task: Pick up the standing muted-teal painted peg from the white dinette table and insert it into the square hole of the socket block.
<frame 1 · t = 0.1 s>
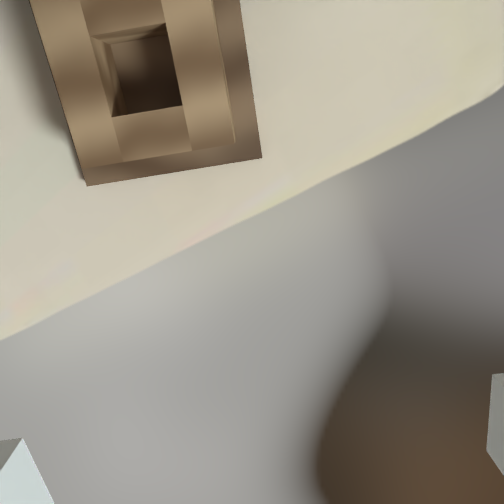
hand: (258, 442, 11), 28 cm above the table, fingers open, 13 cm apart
socket: (154, 76, 33), on the table
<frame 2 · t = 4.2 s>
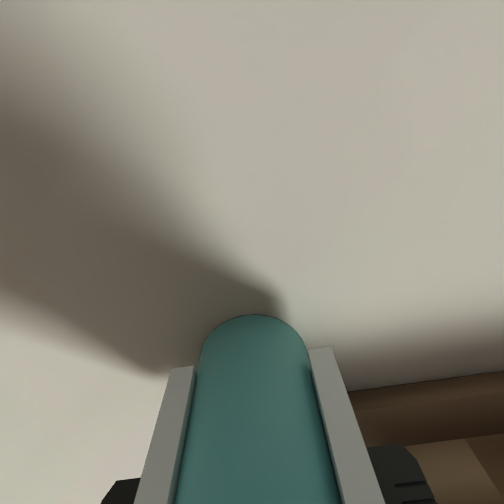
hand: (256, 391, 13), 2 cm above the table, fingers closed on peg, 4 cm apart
peg: (253, 361, 15), on the table, touching gripper
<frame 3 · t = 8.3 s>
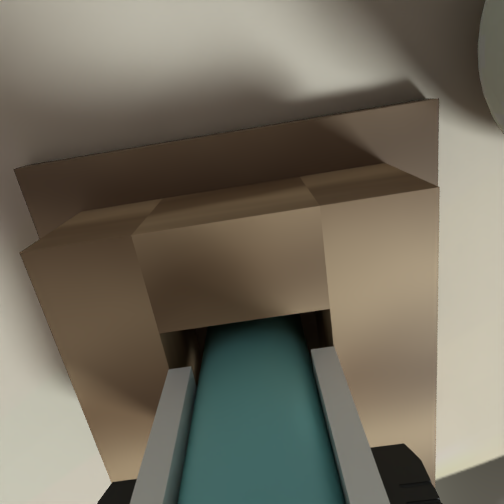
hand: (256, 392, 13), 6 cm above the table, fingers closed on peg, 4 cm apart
peg: (254, 325, 17), point 1 cm above the table, touching gripper
socket: (253, 309, 18), on the table
when the fingers open (6 cm above the table, at t = 9.6 s): peg stays where it is, resting on socket.
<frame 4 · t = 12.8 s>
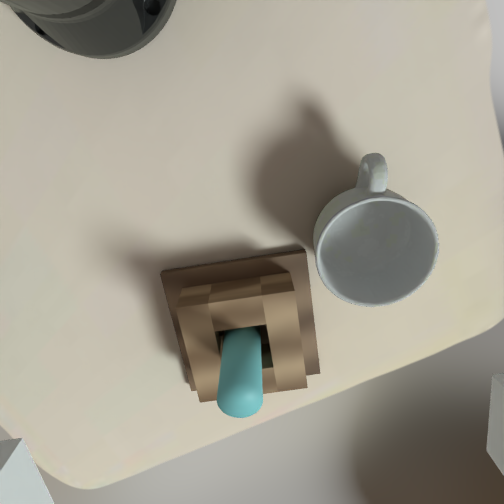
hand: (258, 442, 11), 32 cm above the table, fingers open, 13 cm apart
peg: (242, 325, 45), point 1 cm above the table, touching socket
teacup: (357, 213, 42), on the table
socket: (244, 322, 46), on the table
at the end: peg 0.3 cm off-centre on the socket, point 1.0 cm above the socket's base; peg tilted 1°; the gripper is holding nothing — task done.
